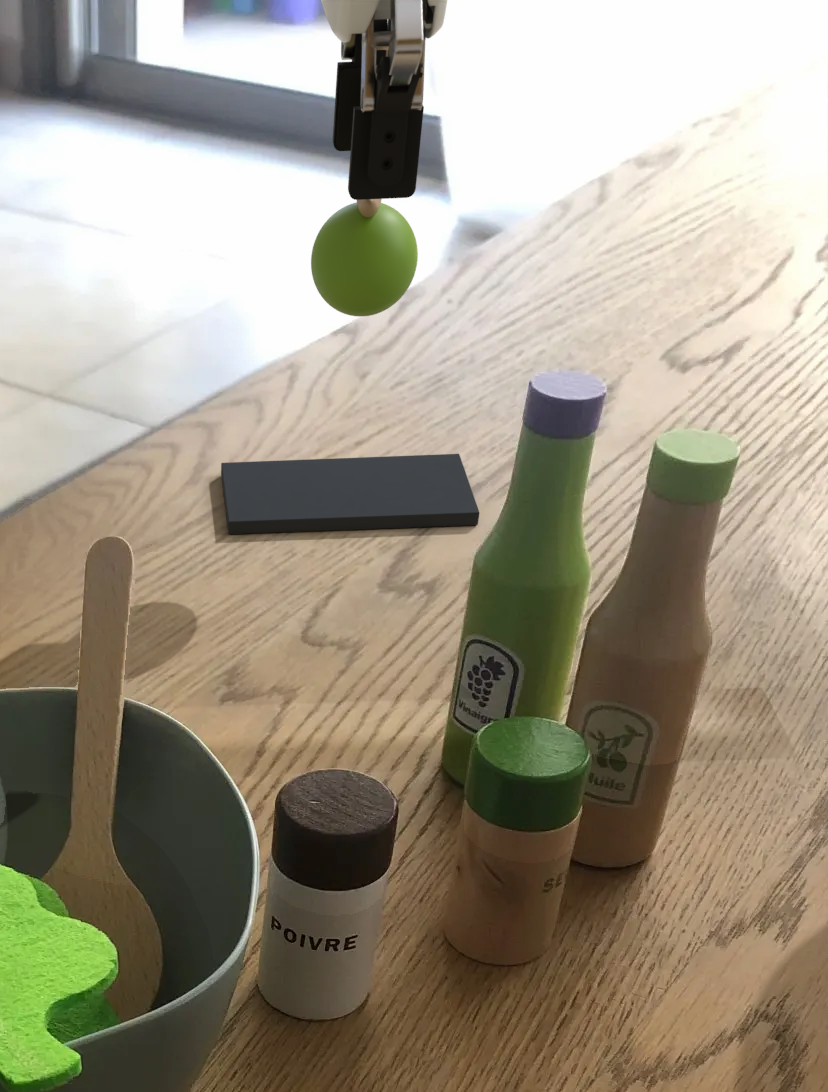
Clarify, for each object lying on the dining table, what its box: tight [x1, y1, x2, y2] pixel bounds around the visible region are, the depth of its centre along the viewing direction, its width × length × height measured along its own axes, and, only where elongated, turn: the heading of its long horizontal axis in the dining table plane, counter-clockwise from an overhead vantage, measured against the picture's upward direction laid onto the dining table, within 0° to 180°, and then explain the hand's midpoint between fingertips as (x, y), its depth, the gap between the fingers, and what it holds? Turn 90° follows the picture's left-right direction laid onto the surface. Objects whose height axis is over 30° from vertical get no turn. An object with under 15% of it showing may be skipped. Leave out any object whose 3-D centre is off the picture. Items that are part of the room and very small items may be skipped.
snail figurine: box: [310, 50, 419, 317], centre depth 82 cm, size 5×6×12 cm
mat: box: [220, 453, 480, 535], centre depth 94 cm, size 14×7×1 cm, turn 90°
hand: (372, 168), depth 81 cm, fingers closed on snail figurine, 6 cm apart
